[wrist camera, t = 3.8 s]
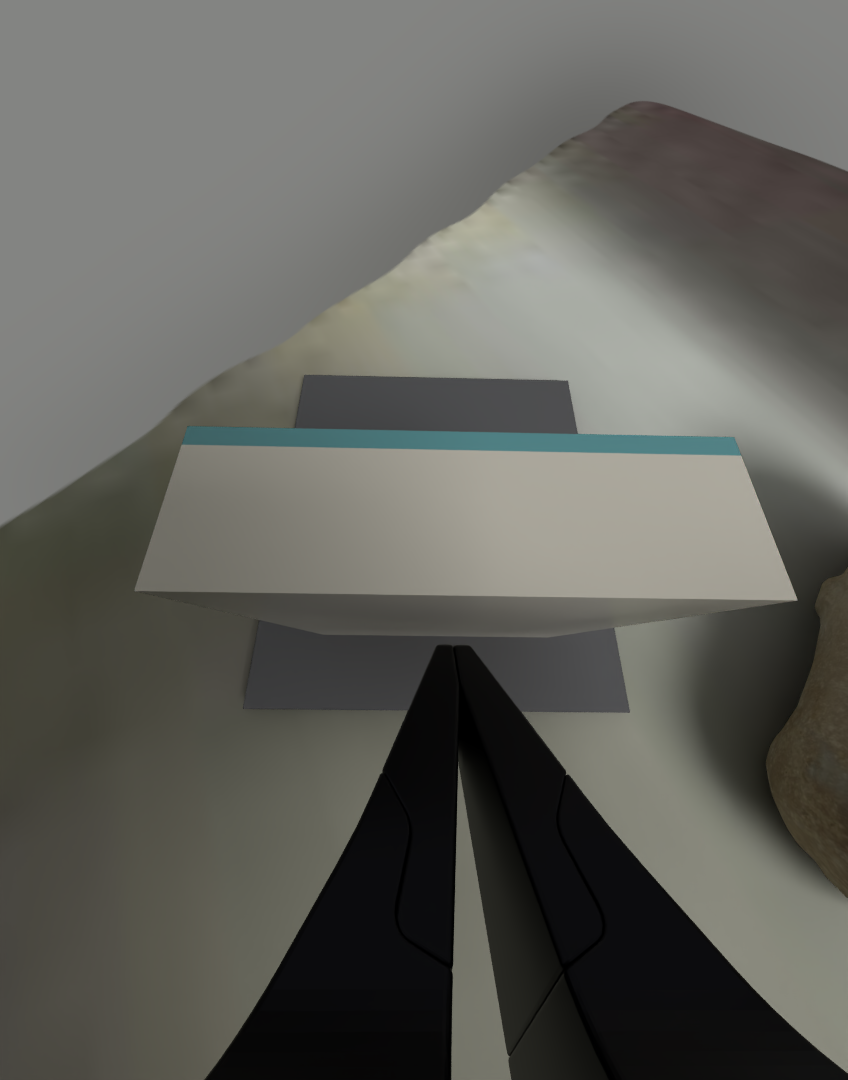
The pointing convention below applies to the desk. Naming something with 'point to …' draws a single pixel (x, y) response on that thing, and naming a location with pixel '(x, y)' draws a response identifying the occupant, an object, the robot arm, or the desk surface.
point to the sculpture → (819, 745)
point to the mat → (400, 661)
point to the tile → (460, 531)
